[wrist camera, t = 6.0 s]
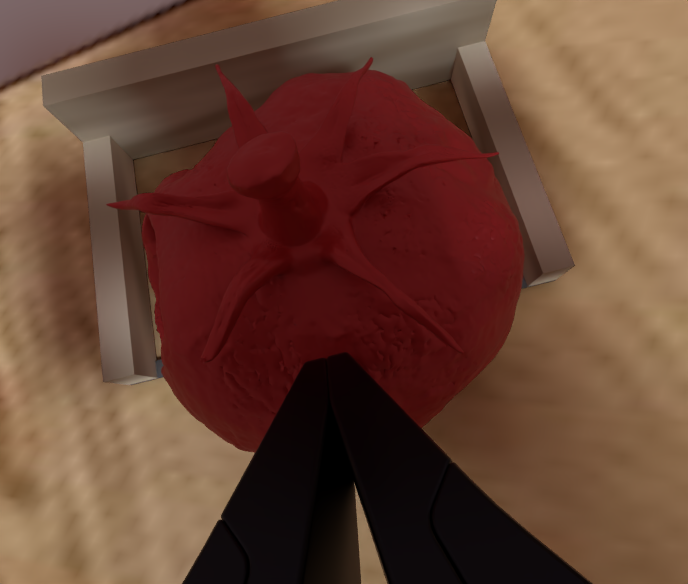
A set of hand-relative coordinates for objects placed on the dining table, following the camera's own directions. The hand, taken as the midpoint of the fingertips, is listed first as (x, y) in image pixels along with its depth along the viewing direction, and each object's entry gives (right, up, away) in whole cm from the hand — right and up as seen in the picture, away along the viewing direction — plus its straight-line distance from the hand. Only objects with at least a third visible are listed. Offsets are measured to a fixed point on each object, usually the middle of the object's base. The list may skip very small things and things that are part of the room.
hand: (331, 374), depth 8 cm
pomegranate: (0, +1, +7) cm, 7 cm away
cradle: (-1, +5, +8) cm, 10 cm away
